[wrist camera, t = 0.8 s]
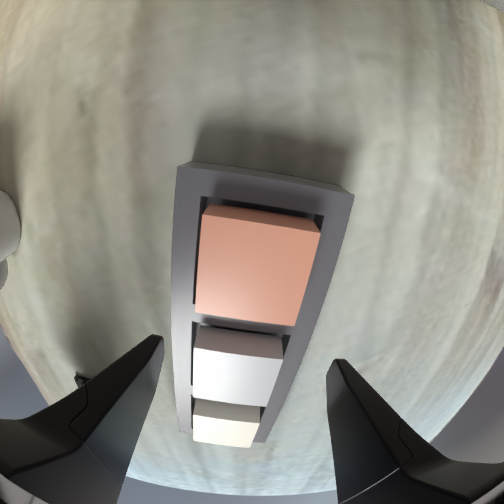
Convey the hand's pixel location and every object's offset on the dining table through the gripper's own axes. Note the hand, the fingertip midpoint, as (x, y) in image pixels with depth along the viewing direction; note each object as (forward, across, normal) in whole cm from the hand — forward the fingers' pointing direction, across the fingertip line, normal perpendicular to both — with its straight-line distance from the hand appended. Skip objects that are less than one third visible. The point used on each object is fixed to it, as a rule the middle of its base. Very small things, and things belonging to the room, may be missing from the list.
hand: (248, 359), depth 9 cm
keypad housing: (+11, 0, +9) cm, 14 cm away
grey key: (+9, 0, +9) cm, 12 cm away
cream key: (+8, 0, +18) cm, 20 cm away
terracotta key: (+8, 0, 0) cm, 8 cm away
